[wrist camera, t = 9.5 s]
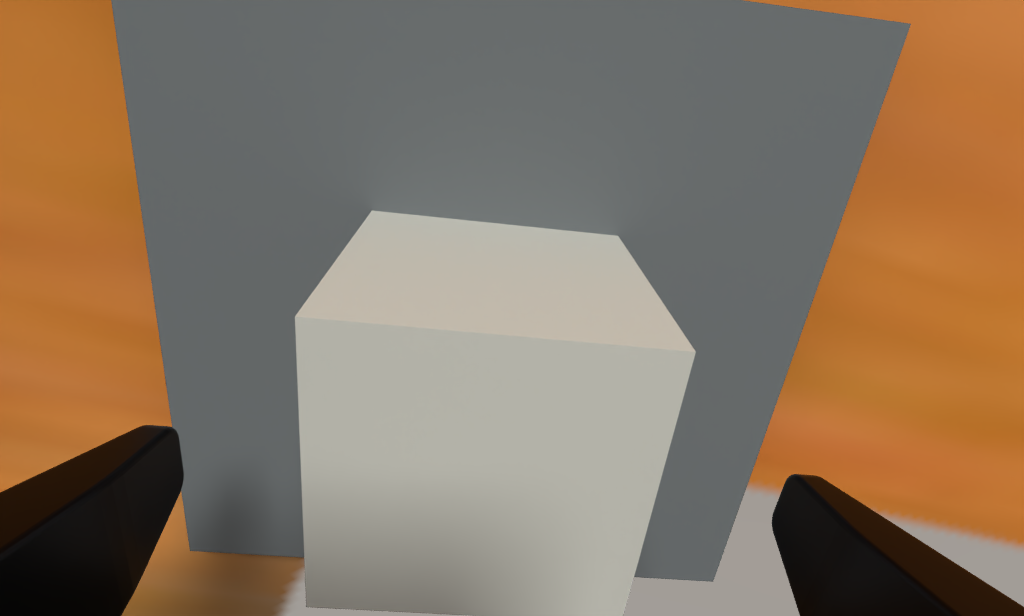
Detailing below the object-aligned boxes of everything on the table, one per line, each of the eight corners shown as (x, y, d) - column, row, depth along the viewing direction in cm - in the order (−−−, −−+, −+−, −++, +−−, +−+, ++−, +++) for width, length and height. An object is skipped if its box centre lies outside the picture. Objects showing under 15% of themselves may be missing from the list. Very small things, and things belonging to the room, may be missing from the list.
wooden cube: (368, 419, 14) (305, 607, 9) (371, 210, 12) (294, 316, 7) (579, 435, 14) (621, 623, 9) (618, 235, 12) (695, 352, 7)
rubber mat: (210, 516, 16) (189, 550, 15) (139, -75, 11) (98, -89, 9) (698, 547, 17) (712, 581, 16) (871, 26, 12) (910, 23, 11)
